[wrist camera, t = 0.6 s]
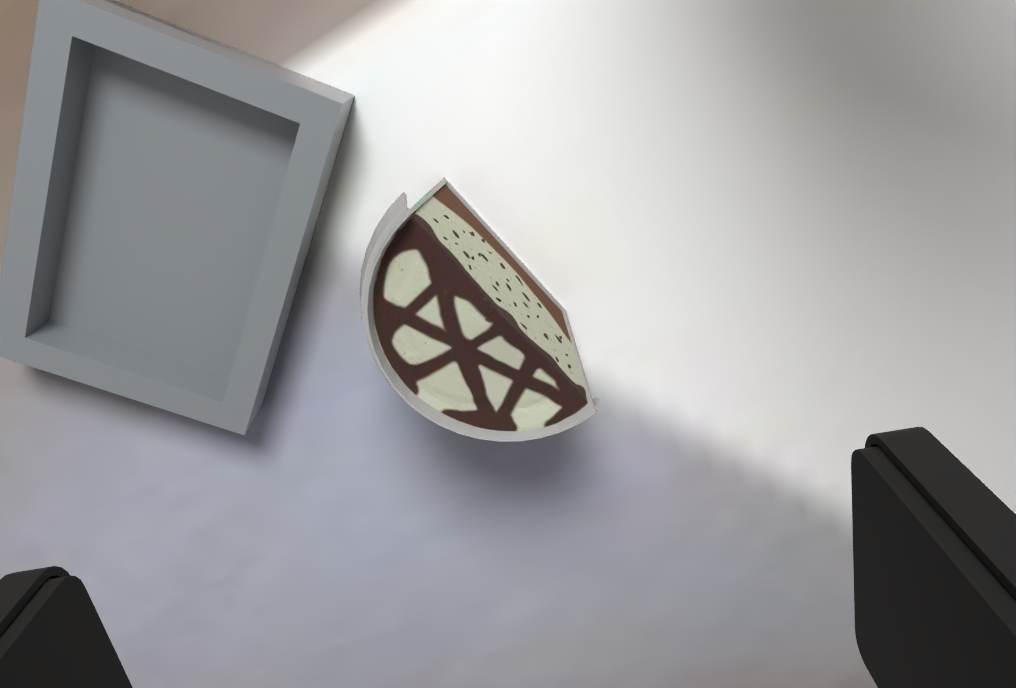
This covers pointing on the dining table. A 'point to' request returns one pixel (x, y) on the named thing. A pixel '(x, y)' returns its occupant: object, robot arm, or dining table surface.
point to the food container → (468, 325)
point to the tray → (161, 210)
